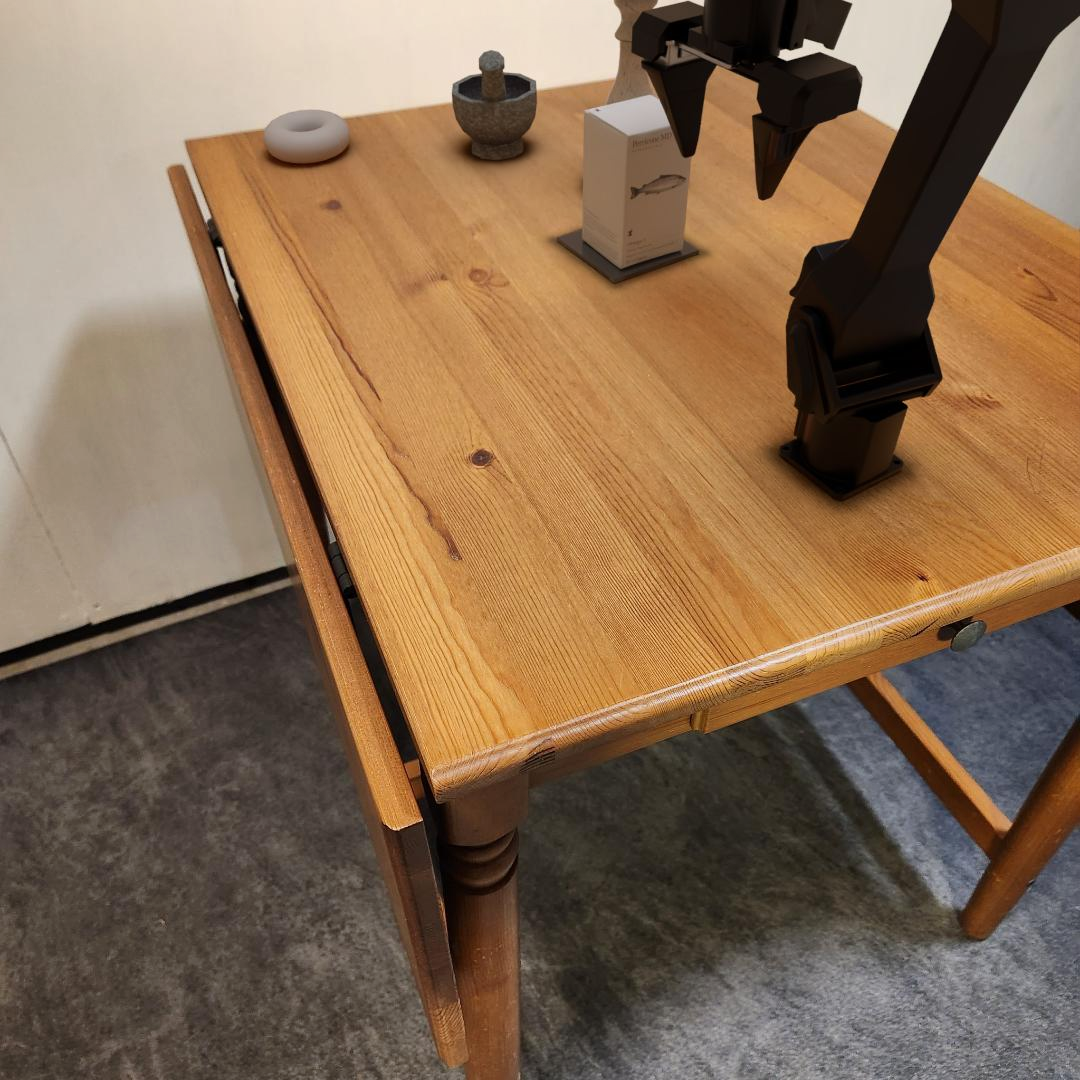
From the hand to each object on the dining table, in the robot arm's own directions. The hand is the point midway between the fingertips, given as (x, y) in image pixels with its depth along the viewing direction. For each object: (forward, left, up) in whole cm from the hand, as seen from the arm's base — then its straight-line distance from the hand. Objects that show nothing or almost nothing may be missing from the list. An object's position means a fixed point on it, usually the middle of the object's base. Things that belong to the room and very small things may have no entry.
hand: (725, 176), depth 73 cm
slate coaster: (+15, -2, -13) cm, 20 cm away
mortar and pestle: (+42, -3, -13) cm, 44 cm away
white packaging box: (+14, -2, -13) cm, 19 cm away
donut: (+55, +15, -13) cm, 59 cm away
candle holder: (+26, -10, -13) cm, 31 cm away
